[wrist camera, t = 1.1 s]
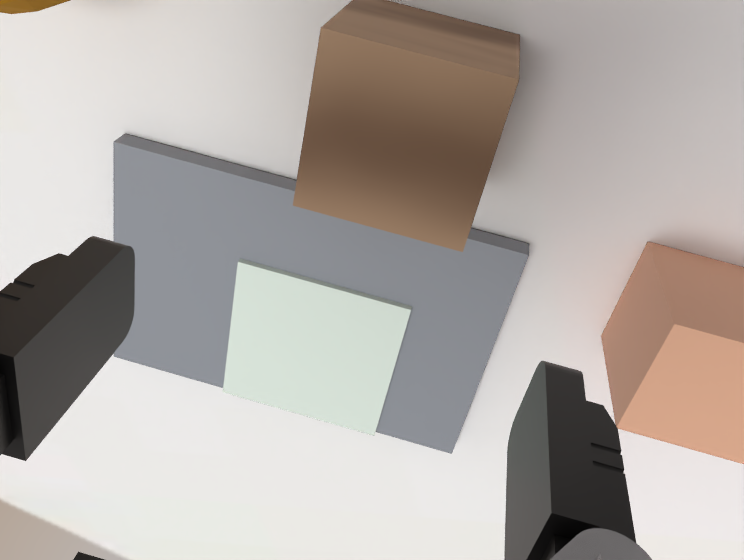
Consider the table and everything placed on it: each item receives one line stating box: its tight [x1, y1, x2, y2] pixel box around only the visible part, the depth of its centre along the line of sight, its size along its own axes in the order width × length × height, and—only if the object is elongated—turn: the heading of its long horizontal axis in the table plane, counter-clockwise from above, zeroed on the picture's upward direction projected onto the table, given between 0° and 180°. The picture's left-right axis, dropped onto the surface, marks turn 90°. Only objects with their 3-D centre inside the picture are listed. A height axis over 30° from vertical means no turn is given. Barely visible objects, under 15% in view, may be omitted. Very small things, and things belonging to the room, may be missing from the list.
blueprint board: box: [114, 134, 529, 454], centre depth 32 cm, size 12×18×1 cm, turn 79°
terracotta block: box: [601, 242, 744, 464], centre depth 27 cm, size 5×5×6 cm
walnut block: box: [293, 0, 520, 252], centre depth 24 cm, size 6×6×6 cm
